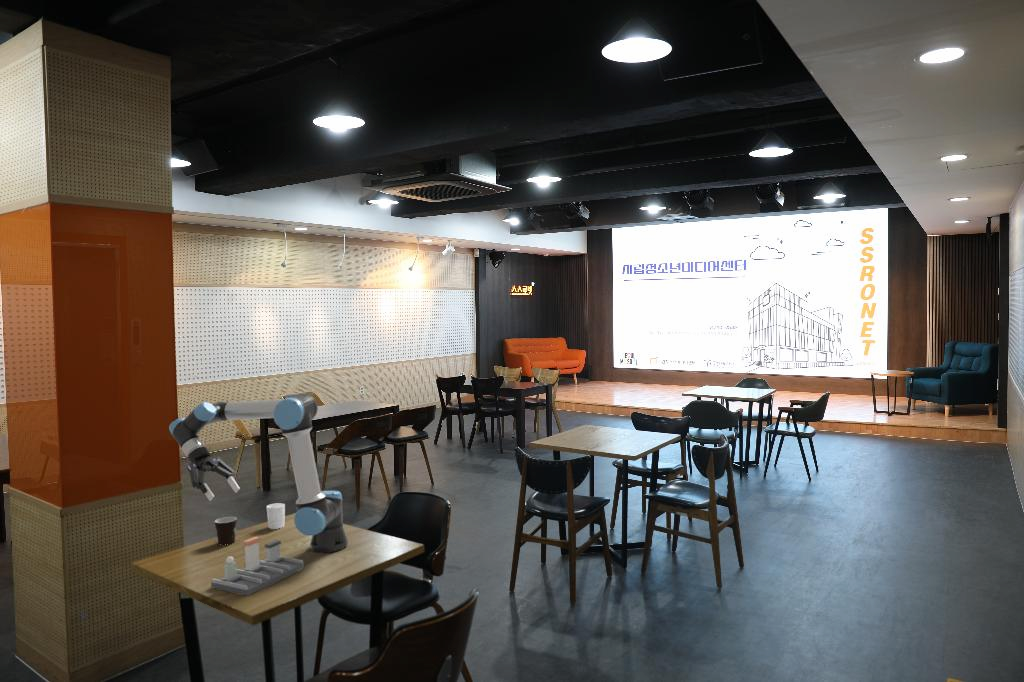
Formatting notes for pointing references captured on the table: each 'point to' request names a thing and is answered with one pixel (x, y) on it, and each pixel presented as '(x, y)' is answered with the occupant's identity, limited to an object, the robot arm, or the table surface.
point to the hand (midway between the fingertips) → (225, 494)
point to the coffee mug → (226, 530)
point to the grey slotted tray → (260, 576)
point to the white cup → (276, 515)
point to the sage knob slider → (230, 570)
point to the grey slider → (273, 551)
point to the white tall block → (252, 554)
